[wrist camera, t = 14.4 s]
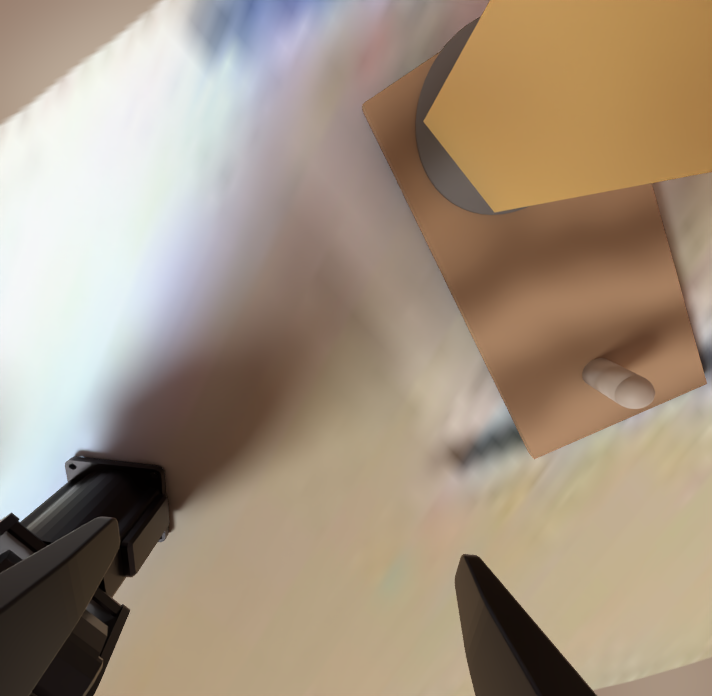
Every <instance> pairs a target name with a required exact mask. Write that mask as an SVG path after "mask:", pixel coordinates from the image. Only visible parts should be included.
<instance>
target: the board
mask: <svg viewBox="0 0 712 696" xmlns="http://www.w3.org/2000/svg"><path fill="white" fill-rule="evenodd" d="M480 18H481V17H479V18H478V19H476V20H474V21H473V22H471V23H469V24H468V25H466V26H465V27H464V28H463V29H461V30H460V31H459V32H458V33H457V34H456V35H455V36H454V37H453V38H452V39H451V40H450V41H449V42H448V43H447V44H446V45H445V47H444V48H443V49H442V50H441V51H440V52H439V53H437V54H436V55H435V56H433V57H432V58H430V59H429V60H427V61H426V62H424V63H423V64H421V65H420V66H418V67H417V68H415V69H414V70H412V71H411V72H409V73H408V74H406V75H405V76H403V77H402V78H400V79H399V80H398V81H396V82H395V83H393V84H392V85H390V86H389V87H387V88H386V89H384V90H383V91H381V92H380V93H378V94H377V95H375V96H374V97H372V98H371V99H369V100H368V101H366V102H365V103H363V106H362V110H363V112H364V115H365V117H366V119H367V121H368V123H369V125H370V127H371V129H372V131H373V133H374V135H375V137H376V139H377V141H378V143H379V145H380V147H381V150H382V152H383V154H384V156H385V158H386V160H387V162H388V164H389V166H390V168H391V170H392V172H393V174H394V176H395V178H396V180H397V182H398V185H399V187H400V189H401V191H402V193H403V195H404V197H405V199H406V201H407V203H408V205H409V207H410V209H411V211H412V213H413V215H414V217H415V220H416V222H417V224H418V226H419V228H420V230H421V232H422V234H423V236H424V238H425V240H426V242H427V244H428V246H429V248H430V250H431V253H432V255H433V257H434V259H435V261H436V263H437V265H438V267H439V269H440V271H441V273H442V275H443V277H444V279H445V281H446V283H447V285H448V288H449V290H450V292H451V294H452V296H453V298H454V300H455V302H456V304H457V306H458V308H459V310H460V312H461V314H462V316H463V318H464V320H465V323H466V325H467V327H468V329H469V331H470V333H471V335H472V337H473V339H474V341H475V343H476V345H477V347H478V349H479V351H480V353H481V355H482V358H483V360H484V362H485V364H486V366H487V368H488V370H489V372H490V374H491V376H492V378H493V380H494V382H495V384H496V386H497V388H498V390H499V393H500V395H501V397H502V399H503V401H504V403H505V405H506V407H507V409H508V411H509V413H510V415H511V417H512V419H513V421H514V423H515V426H516V428H517V430H518V432H519V434H520V436H521V438H522V440H523V442H524V444H525V446H526V448H527V450H528V452H529V453H530V455H531V456H532V457H533V458H534V459H536V458H538V457H540V456H543V455H545V454H547V453H549V452H552V451H554V450H556V449H559V448H561V447H563V446H566V445H568V444H570V443H572V442H575V441H577V440H579V439H582V438H584V437H586V436H588V435H591V434H593V433H595V432H598V431H600V430H602V429H604V428H607V427H609V426H611V425H614V424H616V423H618V422H620V421H623V420H625V419H627V418H630V417H632V416H634V415H636V414H639V413H641V412H643V411H646V410H648V409H650V408H652V407H655V406H657V405H659V404H662V403H664V402H666V401H669V400H671V399H673V398H675V397H678V396H680V395H682V394H685V393H687V392H689V391H691V390H694V389H696V388H698V387H701V386H703V385H705V384H707V382H706V378H705V375H704V371H703V367H702V364H701V360H700V357H699V353H698V349H697V346H696V342H695V338H694V335H693V331H692V328H691V324H690V320H689V317H688V313H687V309H686V306H685V302H684V298H683V295H682V291H681V288H680V284H679V280H678V277H677V273H676V269H675V266H674V262H673V258H672V255H671V251H670V248H669V244H668V240H667V237H666V233H665V229H664V226H663V222H662V218H661V215H660V211H659V208H658V204H657V200H656V197H655V193H654V189H653V186H652V183H649V184H644V185H639V186H633V187H628V188H623V189H617V190H612V191H607V192H601V193H596V194H591V195H585V196H580V197H575V198H569V199H564V200H559V201H553V202H548V203H543V204H537V205H532V206H527V207H521V208H516V209H511V210H505V211H500V212H495V213H494V211H493V210H492V209H491V208H490V206H489V205H488V204H487V202H486V201H485V200H484V199H483V197H482V196H481V195H480V194H479V192H478V191H477V190H476V188H475V187H474V186H473V185H472V183H471V182H470V181H469V179H468V178H467V177H466V176H465V174H464V173H463V172H462V170H461V169H460V168H459V167H458V165H457V164H456V163H455V161H454V160H453V159H452V158H451V156H450V155H449V154H448V153H447V151H446V150H445V149H444V147H443V146H442V145H441V144H440V142H439V141H438V140H437V138H436V137H435V136H434V135H433V133H432V132H431V131H430V129H429V128H428V127H427V126H426V124H425V123H424V122H423V121H424V119H425V118H426V116H427V114H428V112H429V110H430V108H431V107H432V105H433V103H434V101H435V99H436V98H437V96H438V94H439V92H440V90H441V88H442V87H443V85H444V83H445V81H446V79H447V78H448V76H449V74H450V72H451V70H452V69H453V67H454V65H455V63H456V61H457V59H458V58H459V56H460V54H461V52H462V50H463V49H464V47H465V45H466V43H467V41H468V39H469V38H470V36H471V34H472V32H473V30H474V29H475V27H476V25H477V23H478V21H479V20H480Z"/></svg>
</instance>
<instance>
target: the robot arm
mask: <svg viewBox="0 0 712 696" xmlns="http://www.w3.org/2000/svg"><path fill="white" fill-rule="evenodd" d="M65 469H66V474H67V480H68V483H66V484H65V485H64V486H63V487H62V488H61V489H59V490H58V491H57V492H56V493H55V494H53V495H52V496H51V497H50V498H49V499H47V500H46V501H45V502H44V503H43V504H41V505H40V506H39V507H38V508H37V509H35V510H34V511H33V512H32V513H31V514H30V515H28V516H27V517H26V518H25V519H24V520H22V521H21V522H19V521H18V520H19V518H18V517H16V516H15V515H14V514H13V513H10V514H9V515H7V516H6V517H4V518H3V519H1V520H0V696H93V695H94V694H95V692H96V689H97V687H98V685H99V683H100V681H101V679H102V676H103V674H104V672H105V669H106V667H107V664H108V662H109V660H110V657H111V655H112V653H113V650H114V648H115V645H116V643H117V641H118V638H119V636H120V634H121V631H122V629H123V626H124V624H125V622H126V619H127V617H128V615H129V612H130V609H128V608H127V607H126V606H125V605H124V604H123V605H120V604H119V603H118V602H117V601H115V600H114V599H113V598H112V597H113V596H114V594H115V593H116V591H117V590H118V588H119V587H120V586H121V584H122V583H123V581H124V580H125V578H126V577H133V576H134V575H135V574H137V572H138V571H139V569H140V568H141V566H142V565H143V563H144V562H145V560H146V559H147V557H148V556H149V554H150V553H151V551H152V550H153V548H154V547H155V545H156V544H157V542H163V541H164V540H165V539H166V537H167V536H168V525H169V508H168V497H167V495H166V488H165V473H164V470H163V468H162V467H160V466H157V465H148V464H138V463H129V462H120V461H111V460H101V459H92V458H83V457H72V458H71V459H69V460H68V461H67V462H66V463H65ZM154 472H155V473H156V474H155V473H154ZM455 589H456V595H457V602H458V608H459V615H460V621H461V628H462V634H463V640H464V647H465V652H466V658H467V662H468V667H469V671H470V675H471V679H472V683H473V687H474V691H475V695H476V696H597V695H596V694H595V693H594V691H593V690H592V689H591V688H590V687H589V686H588V684H587V683H586V682H585V681H584V680H583V678H582V677H581V676H580V675H579V674H578V673H577V671H576V670H575V669H574V668H573V667H572V666H571V664H570V663H569V662H568V661H567V660H566V658H565V657H564V656H563V655H562V654H561V653H560V651H559V650H558V649H557V648H556V647H555V645H554V644H553V643H552V642H551V641H550V640H549V638H548V637H547V636H546V635H545V634H544V633H543V631H542V630H541V629H540V628H539V627H538V625H537V624H536V623H535V622H534V621H533V620H532V618H531V617H530V616H529V615H528V614H527V612H526V611H525V610H524V609H523V608H522V607H521V605H520V604H519V603H518V602H517V601H516V600H515V598H514V597H513V596H512V595H511V594H510V592H509V591H508V590H507V589H506V588H505V587H504V585H503V584H502V583H501V582H500V581H499V579H498V578H497V577H496V576H495V575H494V574H493V572H492V571H491V570H490V569H489V568H488V567H487V565H486V564H485V563H484V562H483V561H482V559H481V558H480V557H478V556H476V555H468V554H463V555H462V556H461V558H460V562H459V565H458V568H457V572H456V575H455Z"/></svg>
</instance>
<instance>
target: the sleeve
mask: <svg viewBox="0 0 712 696" xmlns="http://www.w3.org/2000/svg"><path fill="white" fill-rule="evenodd" d="M423 122H424V123H425V124H426V126H427V127H428V128H429V129H430V131H431V132H432V133H433V135H434V136H435V137H436V138H437V140H438V141H439V142H440V144H441V145H442V146H443V147H444V149H445V150H446V151H447V153H448V154H449V155H450V156H451V158H452V159H453V160H454V161H455V163H456V164H457V165H458V167H459V168H460V169H461V170H462V172H463V173H464V174H465V176H466V177H467V178H468V179H469V181H470V182H471V183H472V185H473V186H474V187H475V188H476V190H477V191H478V192H479V194H480V195H481V196H482V197H483V199H484V200H485V201H486V202H487V204H488V205H489V206H490V208H491V209H492V210H493V211H494V213H495V212H500V211H505V210H511V209H516V208H521V207H527V206H532V205H537V204H543V203H548V202H553V201H559V200H564V199H569V198H575V197H580V196H585V195H591V194H596V193H601V192H607V191H612V190H617V189H623V188H628V187H633V186H639V185H644V184H649V183H655V182H660V181H665V180H671V179H676V178H681V177H687V176H692V175H697V174H703V173H708V172H712V0H490V1H489V3H488V5H487V7H486V9H485V10H484V12H483V14H482V16H481V18H480V20H479V21H478V23H477V25H476V27H475V29H474V30H473V32H472V34H471V36H470V38H469V39H468V41H467V43H466V45H465V47H464V49H463V50H462V52H461V54H460V56H459V58H458V59H457V61H456V63H455V65H454V67H453V69H452V70H451V72H450V74H449V76H448V78H447V79H446V81H445V83H444V85H443V87H442V88H441V90H440V92H439V94H438V96H437V98H436V99H435V101H434V103H433V105H432V107H431V108H430V110H429V112H428V114H427V116H426V118H425V119H424V121H423Z"/></svg>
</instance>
